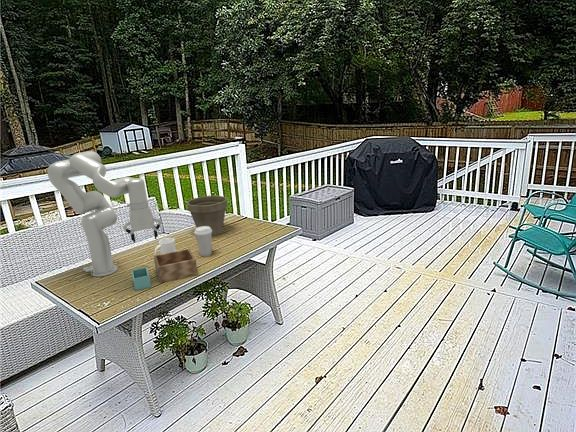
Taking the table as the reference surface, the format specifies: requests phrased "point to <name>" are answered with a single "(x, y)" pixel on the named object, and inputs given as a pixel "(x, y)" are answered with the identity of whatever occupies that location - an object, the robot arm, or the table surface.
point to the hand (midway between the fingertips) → (145, 239)
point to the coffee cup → (204, 240)
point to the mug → (166, 246)
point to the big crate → (175, 265)
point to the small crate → (141, 278)
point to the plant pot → (208, 212)
